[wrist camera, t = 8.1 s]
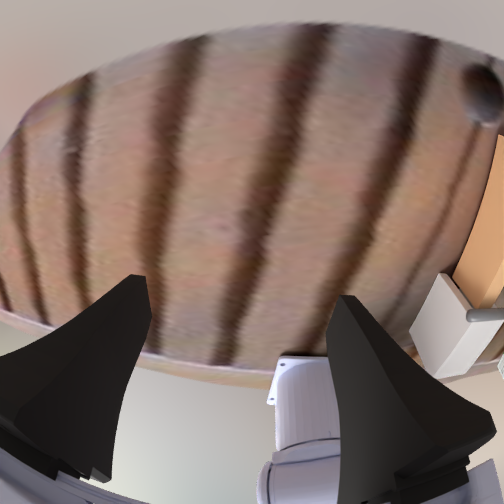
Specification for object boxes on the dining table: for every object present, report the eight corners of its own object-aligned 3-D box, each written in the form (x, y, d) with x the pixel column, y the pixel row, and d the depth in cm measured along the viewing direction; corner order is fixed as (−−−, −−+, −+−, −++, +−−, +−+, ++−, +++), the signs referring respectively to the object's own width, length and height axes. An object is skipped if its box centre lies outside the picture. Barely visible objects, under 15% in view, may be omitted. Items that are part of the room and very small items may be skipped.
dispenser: (443, 329, 24) (466, 374, 19) (407, 330, 24) (428, 381, 19) (476, 269, 20) (511, 312, 15) (439, 266, 20) (476, 315, 15)
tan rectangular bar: (465, 278, 20) (490, 310, 16) (451, 277, 20) (476, 310, 16) (511, 142, 13) (549, 159, 10) (498, 134, 13) (538, 150, 10)
